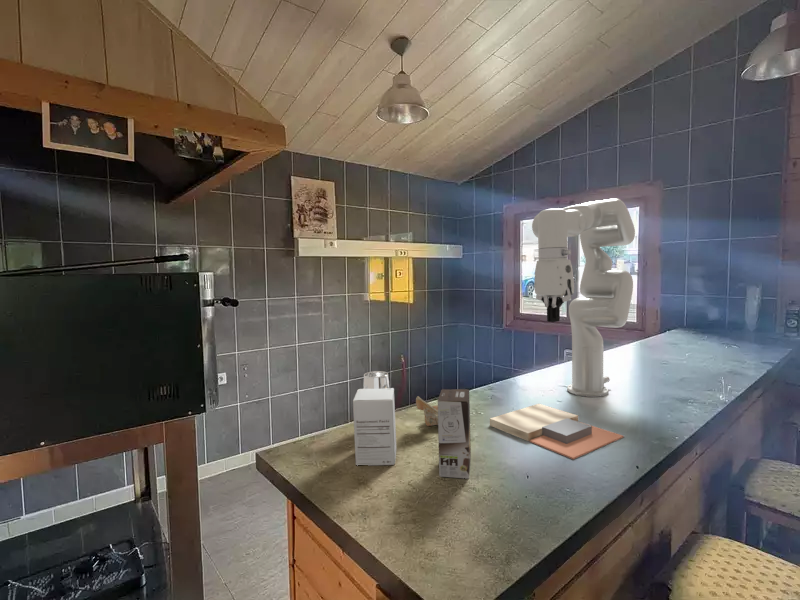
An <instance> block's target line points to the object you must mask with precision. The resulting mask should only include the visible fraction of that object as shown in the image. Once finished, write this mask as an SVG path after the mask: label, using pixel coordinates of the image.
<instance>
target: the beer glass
mask: <svg viewBox="0 0 800 600" xmlns="http://www.w3.org/2000/svg"><path fill="white" fill-rule="evenodd" d="M383 388H390V380H389V373H388V372H386V371H383V370H381V371H380V370H373V371H368V372H366V373H364V374H363V389H383Z"/></svg>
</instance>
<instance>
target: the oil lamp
mask: <svg viewBox="0 0 800 600" xmlns="http://www.w3.org/2000/svg"><path fill="white" fill-rule="evenodd" d="M415 405H416V408H417V410H421V411H423V415H424V422H425V425H426V427H427V426H428V427H431V426H437V427H438V404H437V405H432V404H431V405H430V404H429V403H428V402H427V401H425V400H424V399H422V398H421V397H420V396H419V395H418V396H416V398H415Z"/></svg>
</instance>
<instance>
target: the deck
mask: <svg viewBox="0 0 800 600" xmlns="http://www.w3.org/2000/svg"><path fill="white" fill-rule="evenodd" d="M567 418H568V419H571V420H574V421H577V422H579V415H578V414H574V413H571V412H568V411H565V410H561V409H558V408H555V407H551V406H548V405H546V404H541V403H536V404H533V405H530V406H526V407H524V408H523V407H522V408H519V409H516V410H513V411H509V412H506V413H503V414H500V415H497V416H494V417H490V418H489V426H490V427H493V428H495V429H497V430H500V431H502V432H504V433H507V434H509V435H512V436H514V437H517V438H519V439H522V440H524V441H526V442H530V440H531V439H534V438H537V437H540V436H542V427H544V426H547V425H549V424H552V423H555V422H558V421H561V420H564V419H567Z"/></svg>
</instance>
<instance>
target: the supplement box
mask: <svg viewBox="0 0 800 600" xmlns="http://www.w3.org/2000/svg"><path fill="white" fill-rule="evenodd" d="M395 406H396V405H395V388H394V387H389V388H383V389H364V388H359V389H357V391H356V393H355V395H354V396H353V400H352V408H353V409H352V410H353V412H352V414H353V430H354V432H353V433H354V434H353V435H354V454H355V466H356V465H357V467H359V466H358V465H368V466H395V465H396V459H397V458H396V457H397V431H396V430H397V428H396V407H395ZM394 464H395V465H394Z"/></svg>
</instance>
